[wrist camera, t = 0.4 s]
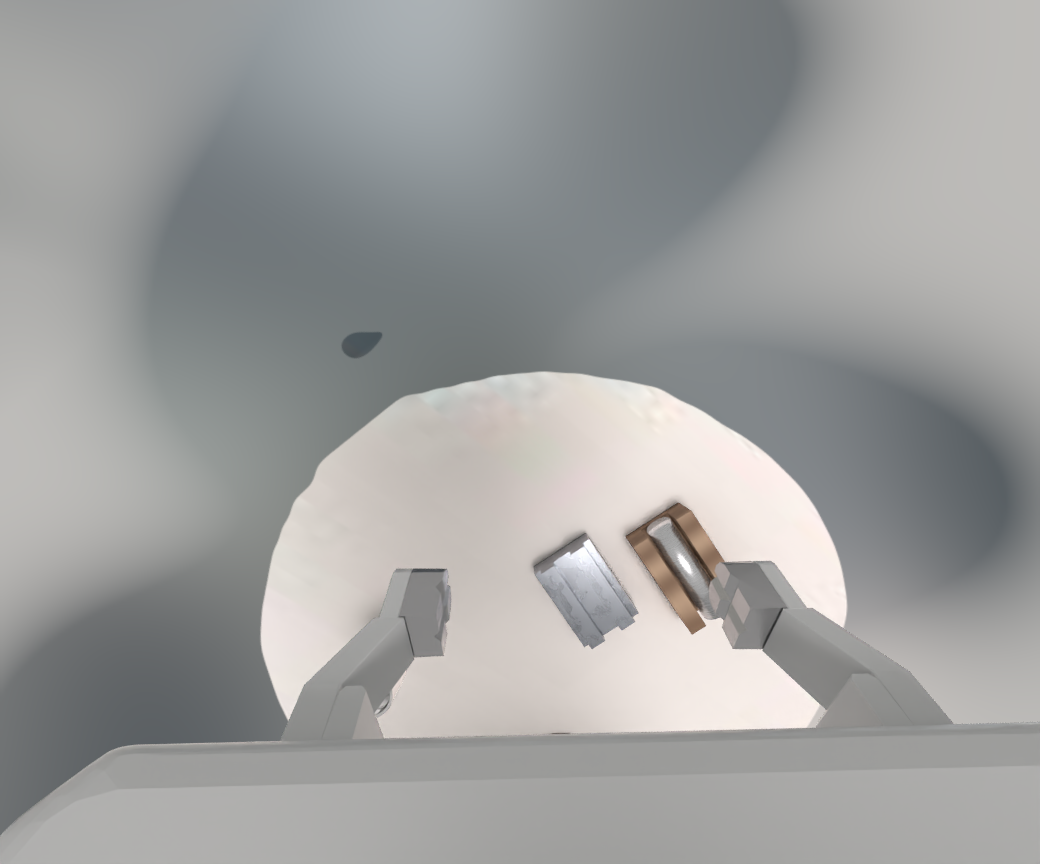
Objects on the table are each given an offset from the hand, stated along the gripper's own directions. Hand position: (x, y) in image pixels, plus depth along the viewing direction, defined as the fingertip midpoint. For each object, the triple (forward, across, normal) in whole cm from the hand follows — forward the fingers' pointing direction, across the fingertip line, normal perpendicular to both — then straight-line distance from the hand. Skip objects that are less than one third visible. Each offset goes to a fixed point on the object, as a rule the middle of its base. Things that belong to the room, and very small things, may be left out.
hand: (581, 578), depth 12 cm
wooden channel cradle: (+36, +24, -41) cm, 60 cm away
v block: (+35, +9, -44) cm, 57 cm away
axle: (+36, +24, -40) cm, 59 cm away
